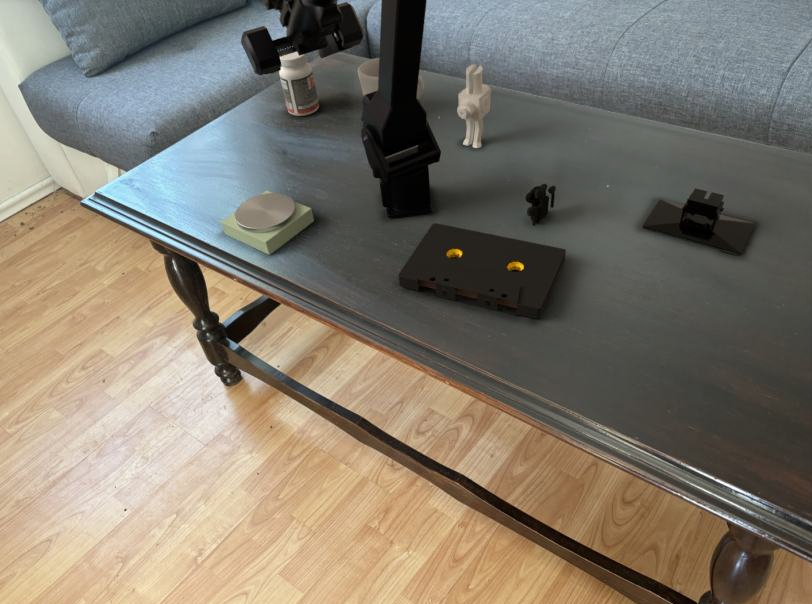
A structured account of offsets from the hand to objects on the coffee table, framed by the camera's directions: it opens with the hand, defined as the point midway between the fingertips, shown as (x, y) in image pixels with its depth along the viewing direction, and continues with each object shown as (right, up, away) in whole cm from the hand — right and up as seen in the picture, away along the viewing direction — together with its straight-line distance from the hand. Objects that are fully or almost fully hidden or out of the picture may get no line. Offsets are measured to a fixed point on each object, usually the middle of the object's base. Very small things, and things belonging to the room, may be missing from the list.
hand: (296, 63), depth 110 cm
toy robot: (+30, -15, -5) cm, 34 cm away
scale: (-1, -31, -17) cm, 35 cm away
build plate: (+57, -32, -24) cm, 70 cm away
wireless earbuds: (+37, -30, -20) cm, 52 cm away
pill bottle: (0, -5, +7) cm, 9 cm away
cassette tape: (+28, -39, -28) cm, 55 cm away
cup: (+17, -7, +4) cm, 18 cm away
